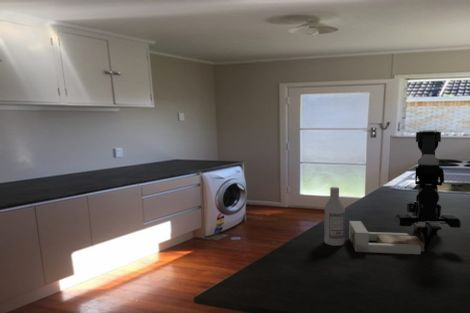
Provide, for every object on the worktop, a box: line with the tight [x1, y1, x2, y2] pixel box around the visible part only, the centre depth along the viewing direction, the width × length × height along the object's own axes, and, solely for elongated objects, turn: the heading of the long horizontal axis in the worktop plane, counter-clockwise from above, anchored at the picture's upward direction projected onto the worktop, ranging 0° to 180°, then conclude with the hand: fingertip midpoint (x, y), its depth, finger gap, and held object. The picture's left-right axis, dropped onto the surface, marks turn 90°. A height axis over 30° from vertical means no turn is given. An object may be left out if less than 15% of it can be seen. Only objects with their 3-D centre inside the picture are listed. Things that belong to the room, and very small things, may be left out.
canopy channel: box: [348, 220, 422, 255], centre depth 120 cm, size 20×14×6 cm
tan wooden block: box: [376, 235, 425, 252], centre depth 119 cm, size 13×8×3 cm, turn 81°
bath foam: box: [323, 186, 346, 247], centre depth 123 cm, size 7×7×20 cm
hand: (426, 245), depth 118 cm, fingers closed
